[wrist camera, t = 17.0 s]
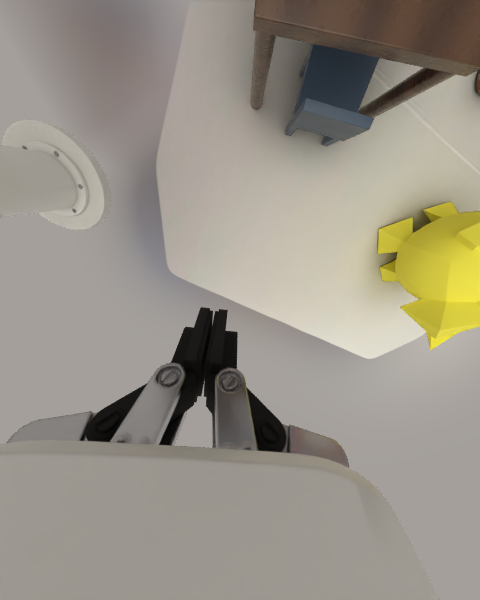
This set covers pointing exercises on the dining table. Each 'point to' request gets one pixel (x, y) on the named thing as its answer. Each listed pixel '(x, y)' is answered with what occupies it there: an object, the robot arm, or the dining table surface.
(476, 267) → the piggy bank
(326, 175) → the dining table surface
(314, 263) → the dining table surface
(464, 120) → the dining table surface
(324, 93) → the chair
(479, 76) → the sauce bottle
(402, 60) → the side table
